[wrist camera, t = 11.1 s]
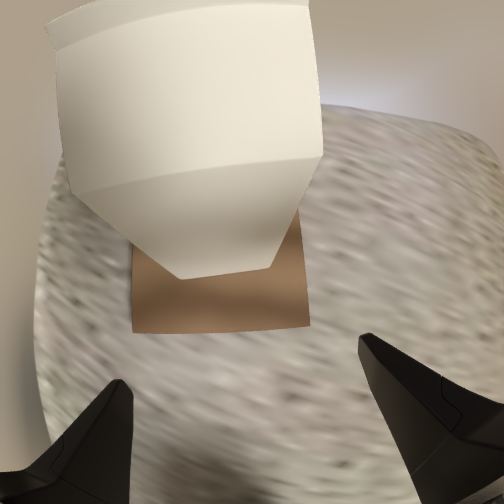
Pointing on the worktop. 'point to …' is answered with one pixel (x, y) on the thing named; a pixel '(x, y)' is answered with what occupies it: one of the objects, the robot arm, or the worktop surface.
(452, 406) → the robot arm
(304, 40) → the milk carton
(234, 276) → the cutting board
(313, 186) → the worktop surface
